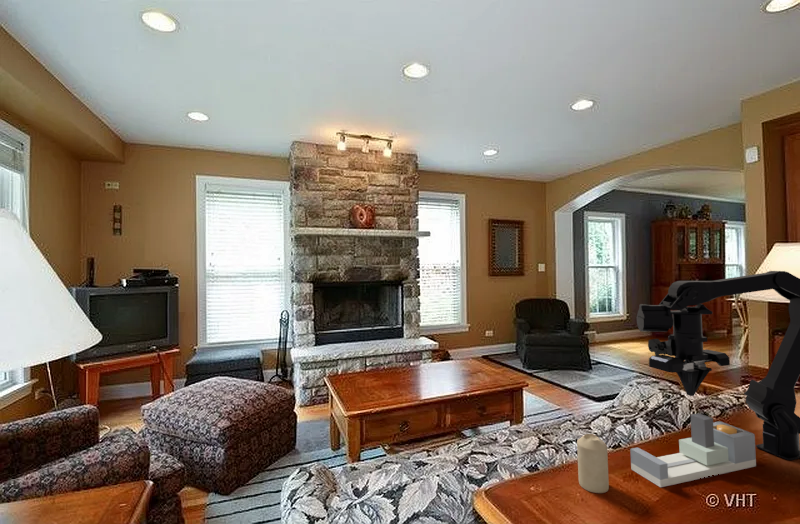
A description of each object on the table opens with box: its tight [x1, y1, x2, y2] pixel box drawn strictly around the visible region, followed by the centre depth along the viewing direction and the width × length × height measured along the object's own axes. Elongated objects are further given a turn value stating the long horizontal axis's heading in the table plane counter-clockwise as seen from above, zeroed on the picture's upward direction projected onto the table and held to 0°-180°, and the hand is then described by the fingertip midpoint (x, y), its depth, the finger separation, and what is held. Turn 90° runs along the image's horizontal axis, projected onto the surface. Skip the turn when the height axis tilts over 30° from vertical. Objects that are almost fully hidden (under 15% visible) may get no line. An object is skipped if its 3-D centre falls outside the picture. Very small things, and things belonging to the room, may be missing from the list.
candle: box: [576, 433, 610, 494], centre depth 76 cm, size 6×6×10 cm
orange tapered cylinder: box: [717, 425, 737, 434], centre depth 84 cm, size 3×3×6 cm
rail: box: [629, 421, 757, 488], centre depth 81 cm, size 26×7×7 cm, turn 104°
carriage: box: [678, 412, 729, 466], centre depth 82 cm, size 6×6×9 cm
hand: (690, 395), depth 92 cm, fingers closed
